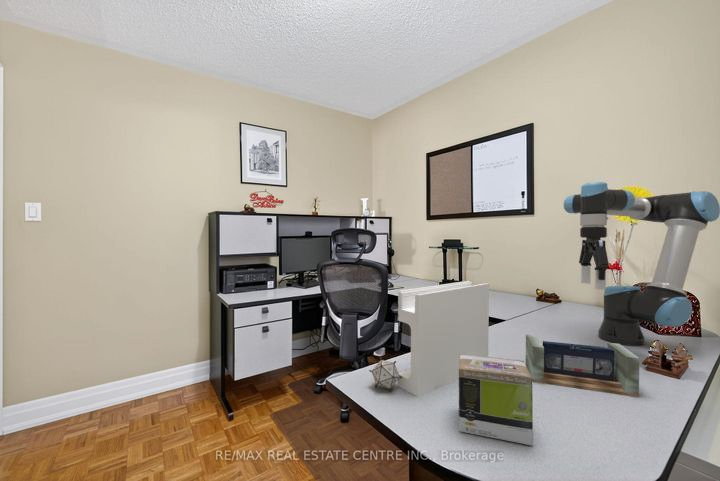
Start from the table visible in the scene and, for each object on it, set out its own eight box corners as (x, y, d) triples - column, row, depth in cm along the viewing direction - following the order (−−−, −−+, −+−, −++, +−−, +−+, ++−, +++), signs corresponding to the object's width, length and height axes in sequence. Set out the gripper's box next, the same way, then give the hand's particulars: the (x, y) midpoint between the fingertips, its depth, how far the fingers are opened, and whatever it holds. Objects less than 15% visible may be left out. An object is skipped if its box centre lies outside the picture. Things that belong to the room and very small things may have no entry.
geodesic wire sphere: (384, 404, 88) (374, 385, 82) (371, 381, 95) (360, 362, 89) (410, 385, 89) (401, 365, 84) (395, 364, 96) (386, 345, 91)
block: (418, 396, 84) (418, 295, 84) (397, 385, 91) (398, 290, 90) (488, 365, 106) (489, 283, 105) (467, 357, 112) (468, 280, 111)
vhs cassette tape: (543, 374, 97) (543, 342, 97) (541, 370, 100) (542, 339, 99) (615, 384, 90) (615, 351, 90) (611, 380, 93) (611, 347, 93)
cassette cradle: (618, 378, 96) (619, 343, 96) (638, 397, 85) (639, 358, 85) (525, 365, 105) (525, 334, 105) (532, 381, 94) (532, 346, 93)
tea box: (524, 420, 74) (525, 359, 74) (533, 448, 64) (534, 378, 64) (458, 408, 79) (459, 351, 79) (457, 432, 69) (458, 367, 69)
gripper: (622, 225, 96) (621, 293, 97) (592, 227, 120) (591, 281, 120) (594, 225, 99) (593, 291, 99) (570, 227, 122) (569, 280, 123)
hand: (592, 286), depth 110 cm, fingers open, 13 cm apart
